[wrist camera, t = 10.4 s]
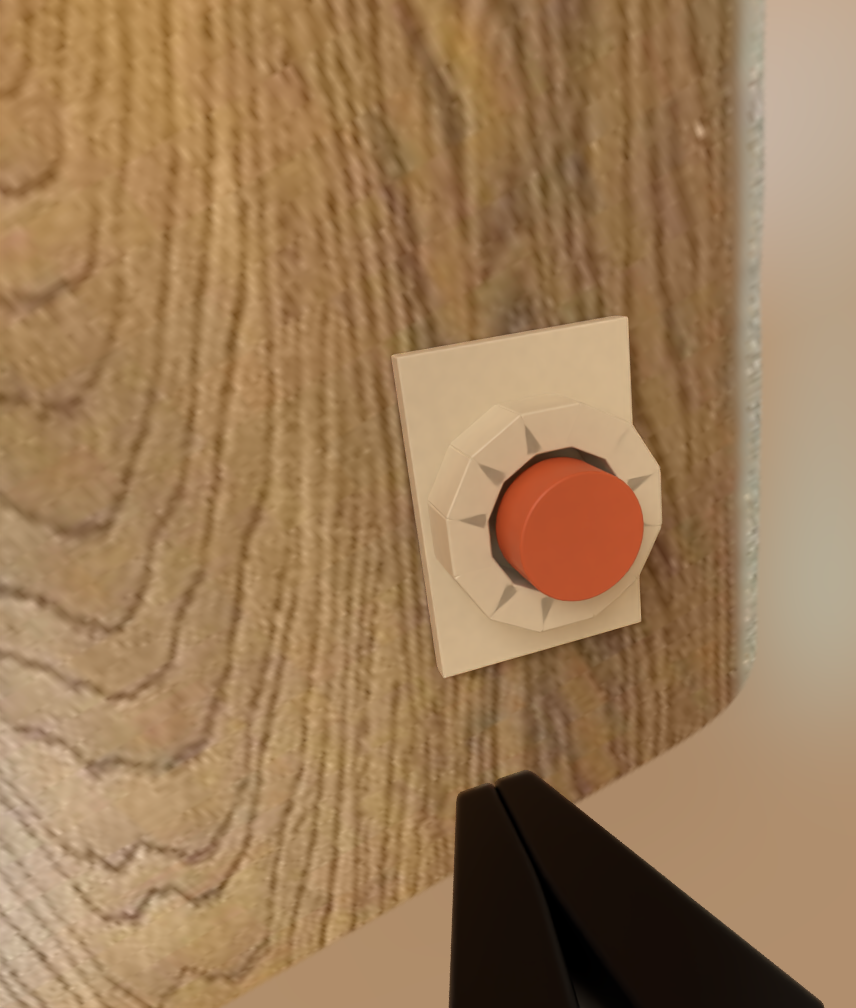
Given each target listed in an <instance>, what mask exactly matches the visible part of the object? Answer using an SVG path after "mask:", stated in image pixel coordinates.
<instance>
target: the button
mask: <svg viewBox="0 0 856 1008" xmlns="http://www.w3.org/2000/svg"><path fill="white" fill-rule="evenodd" d="M643 532H644V521H643V514H642V509H641V506H640V504H639V501H638V499H637V497H636V495H635V493H634V492H633V491H632V489H631V488H630V487H629V486H628V485H627V484H626V483H625V482H624V481H622V480H621V479H619V478H618V477H616V476H614V475H612V474H610V473H608V472H605V471H603V470H601V469H599V468H597V467H595V466H593V465H590V464H588V463H586V462H584V461H582V460H579V459H576V458H571V457H555V458H549V459H546V460H542V461H540V462H538V463H536V464H534V465H532V466H530V467H529V468H527V469H526V470H524V471H523V472H522V473H521V474H520V475H519V476H517V477H516V478H515V479H514V481H513V482H512V483H511V484H510V486H509V487H508V489H507V490H506V492H505V493H504V496H503V498H502V500H501V502H500V505H499V508H498V512H497V517H496V536H497V542H498V545H499V548H500V550H501V552H502V554H503V556H504V557H505V559H506V560H507V562H508V563H509V564H510V565H511V566H512V567H513V568H514V569H515V570H516V571H518V572H519V573H520V574H521V575H522V576H523V577H524V578H525V579H526V580H527V581H529V582H530V583H531V584H532V585H533V586H534V587H535V588H536V589H538V590H539V591H540V592H542V593H543V594H545V595H547V596H548V597H551V598H554V599H557V600H562V601H582V600H586V599H590V598H593V597H596V596H598V595H600V594H602V593H604V592H605V591H607V590H609V589H610V588H612V587H613V586H614V585H615V584H617V583H618V582H619V581H620V580H621V579H622V578H623V577H624V575H625V574H626V573H627V572H628V571H629V569H630V567H631V566H632V564H633V563H634V561H635V559H636V557H637V555H638V552H639V550H640V547H641V543H642V539H643Z"/></svg>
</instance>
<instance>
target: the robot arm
mask: <svg viewBox="0 0 856 1008" xmlns="http://www.w3.org/2000/svg"><path fill="white" fill-rule="evenodd" d="M449 1008H824V1005H823V1003H822V1002H821V1001H820V1000H819V999H818V998H816V997H815V996H814V995H813V994H811V993H810V992H809V991H808V990H806V989H805V988H804V987H803V986H801V985H800V984H799V983H798V982H796V981H795V980H794V979H793V978H791V977H790V976H789V975H788V974H786V973H785V972H784V971H783V970H781V969H780V968H779V967H778V966H776V965H775V964H774V963H773V962H771V961H770V960H769V959H767V958H766V957H765V956H764V955H762V954H761V953H760V952H759V951H757V950H756V949H755V948H753V947H752V946H751V945H750V944H749V943H747V942H746V941H745V940H744V939H742V938H741V937H740V936H739V935H737V934H736V933H735V932H733V931H732V930H731V929H730V928H729V927H727V926H726V925H725V924H723V923H722V922H721V921H720V920H718V919H717V918H716V917H715V916H713V915H712V914H711V913H710V912H708V911H707V910H706V909H705V908H703V907H702V906H701V905H700V904H698V903H697V902H696V901H694V900H693V899H692V898H691V897H689V896H688V895H687V894H686V893H685V892H683V891H682V890H681V889H679V888H678V887H677V886H676V885H674V884H673V883H672V882H671V881H669V880H668V879H667V878H665V877H664V876H663V875H662V874H661V873H659V872H658V871H657V870H656V869H654V868H653V867H652V866H651V865H649V864H648V863H647V862H646V861H644V860H643V859H642V858H641V857H639V856H638V855H637V854H635V853H634V852H633V851H632V850H630V849H629V848H628V847H627V846H625V845H624V844H623V843H622V842H620V841H619V840H618V839H616V838H615V837H614V836H613V835H612V834H610V833H609V832H608V831H607V830H605V829H604V828H603V827H602V826H600V825H599V824H598V823H596V822H595V821H594V820H593V819H591V818H590V817H589V816H588V815H586V814H585V813H584V812H583V811H581V810H580V809H579V808H578V807H576V806H575V805H574V804H573V803H571V802H570V801H569V800H568V799H566V798H565V797H564V796H563V795H561V794H560V793H559V792H558V791H556V790H555V789H554V788H553V787H551V786H550V785H549V784H547V783H546V782H545V781H544V780H542V779H541V778H540V777H539V776H537V775H536V774H535V773H533V772H531V771H528V770H524V771H520V772H517V773H514V774H512V775H509V776H506V777H503V778H500V779H498V780H497V781H496V783H495V787H494V786H493V785H492V784H490V783H485V784H482V785H480V786H477V787H474V788H471V789H468V790H465V791H462V792H460V793H459V794H458V796H457V801H456V826H455V854H454V881H453V909H452V938H451V963H450V991H449Z"/></svg>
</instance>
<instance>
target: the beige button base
mask: <svg viewBox="0 0 856 1008" xmlns="http://www.w3.org/2000/svg"><path fill="white" fill-rule="evenodd" d="M391 359H392V366H393V372H394V379H395V386H396V392H397V399H398V406H399V413H400V419H401V426H402V433H403V440H404V446H405V453H406V460H407V467H408V473H409V480H410V487H411V493H412V500H413V507H414V514H415V520H416V527H417V534H418V541H419V547H420V554H421V561H422V568H423V574H424V581H425V588H426V594H427V601H428V608H429V615H430V621H431V628H432V635H433V642H434V648H435V655H436V662H437V668H438V670H439V671H440V673H441V674H442V676H443V677H444V678H448V677H451V676H454V675H458V674H461V673H465V672H468V671H472V670H475V669H479V668H482V667H486V666H489V665H493V664H496V663H500V662H503V661H507V660H510V659H514V658H517V657H521V656H524V655H528V654H531V653H535V652H538V651H542V650H545V649H548V648H552V647H555V646H559V645H562V644H566V643H569V642H573V641H576V640H580V639H583V638H587V637H590V636H594V635H597V634H601V633H604V632H608V631H611V630H615V629H618V628H622V627H625V626H629V625H632V624H636V623H639V622H641V603H640V580H639V576H640V573H641V571H642V569H643V567H644V564H645V562H646V560H647V558H648V556H649V553H650V551H651V549H652V547H653V544H654V542H655V540H656V538H657V536H658V533H659V531H660V529H661V524H662V501H661V471H660V466H659V465H658V463H657V462H656V460H655V459H654V457H653V456H652V454H651V452H650V451H649V449H648V448H647V446H646V445H645V443H644V442H643V440H642V438H641V437H640V435H639V434H638V432H637V431H636V429H635V427H634V426H633V419H632V396H631V374H630V351H629V328H628V317H626V316H610V317H605V318H599V319H593V320H588V321H582V322H576V323H571V324H565V325H559V326H553V327H548V328H542V329H536V330H531V331H525V332H519V333H514V334H508V335H502V336H497V337H491V338H485V339H479V340H474V341H468V342H462V343H457V344H451V345H445V346H440V347H434V348H428V349H423V350H417V351H411V352H405V353H400V354H394V355H392V357H391ZM555 457H571V458H576V459H579V460H582V461H584V462H586V463H588V464H590V465H593V466H595V467H597V468H599V469H601V470H603V471H605V472H608V473H610V474H612V475H614V476H616V477H618V478H619V479H621V480H622V481H624V482H625V483H626V484H627V485H628V486H629V487H630V488H631V489H632V491H633V492H634V493H635V495H636V497H637V499H638V501H639V504H640V506H641V509H642V514H643V521H644V532H643V539H642V543H641V547H640V550H639V552H638V555H637V557H636V559H635V561H634V563H633V564H632V566H631V567H630V569H629V571H628V572H627V573H626V574H625V575H624V577H623V578H622V579H621V580H620V581H619V582H618V583H617V584H615V585H614V586H613V587H612V588H610V589H609V590H607V591H605V592H604V593H602V594H600V595H598V596H596V597H593V598H590V599H586V600H582V601H562V600H557V599H554V598H551V597H548V596H547V595H545V594H543V593H542V592H540V591H539V590H538V589H536V588H535V587H534V586H533V585H532V584H531V583H530V582H529V581H527V580H526V579H525V578H524V577H523V576H522V575H521V574H520V573H519V572H518V571H516V570H515V569H514V568H513V567H512V566H511V565H510V564H509V563H508V562H507V560H506V559H505V557H504V556H503V554H502V552H501V550H500V548H499V545H498V542H497V536H496V517H497V512H498V508H499V505H500V502H501V500H502V498H503V496H504V493H505V492H506V490H507V489H508V487H509V486H510V484H511V483H512V482H513V481H514V479H515V478H516V477H517V476H519V475H520V474H521V473H522V472H523V471H524V470H526V469H527V468H529V467H530V466H532V465H534V464H536V463H538V462H540V461H542V460H546V459H549V458H555Z"/></svg>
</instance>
